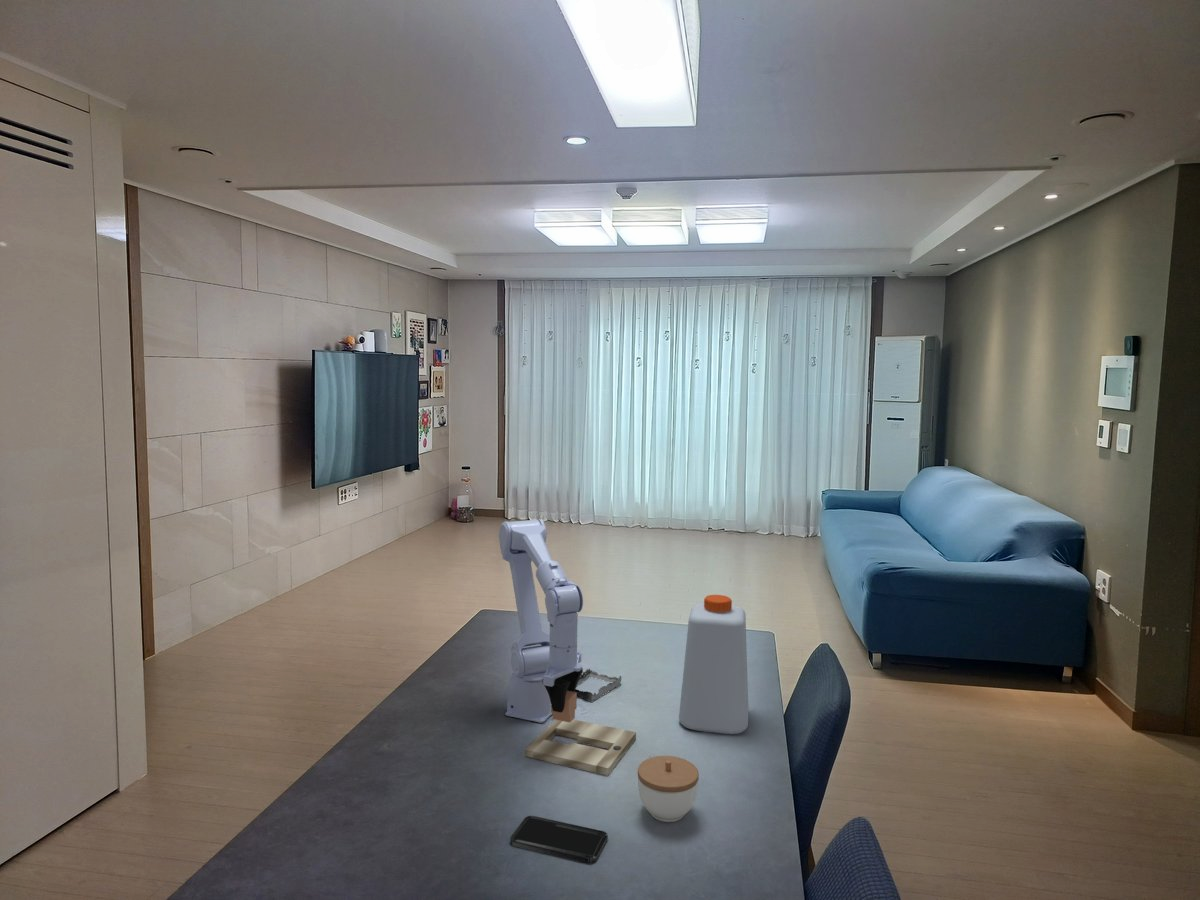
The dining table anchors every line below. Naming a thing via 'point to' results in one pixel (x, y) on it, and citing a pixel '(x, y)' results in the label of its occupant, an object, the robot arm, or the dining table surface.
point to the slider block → (567, 708)
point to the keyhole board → (582, 746)
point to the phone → (559, 839)
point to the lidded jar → (667, 786)
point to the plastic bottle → (715, 668)
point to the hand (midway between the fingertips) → (562, 706)
